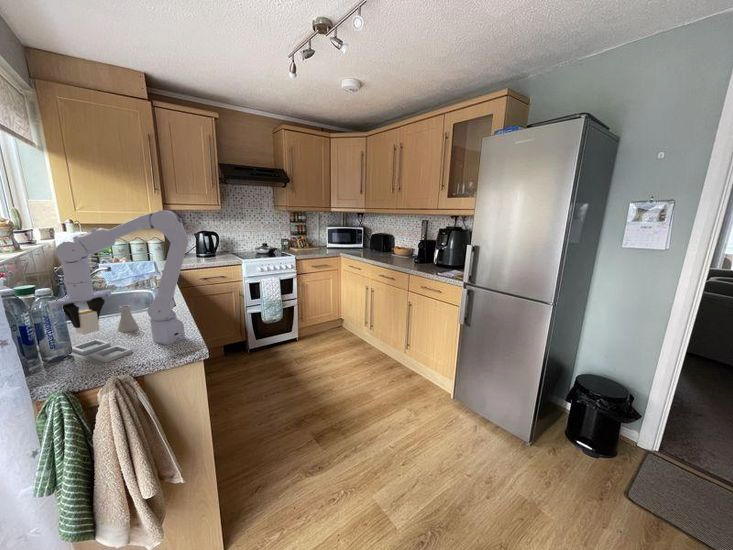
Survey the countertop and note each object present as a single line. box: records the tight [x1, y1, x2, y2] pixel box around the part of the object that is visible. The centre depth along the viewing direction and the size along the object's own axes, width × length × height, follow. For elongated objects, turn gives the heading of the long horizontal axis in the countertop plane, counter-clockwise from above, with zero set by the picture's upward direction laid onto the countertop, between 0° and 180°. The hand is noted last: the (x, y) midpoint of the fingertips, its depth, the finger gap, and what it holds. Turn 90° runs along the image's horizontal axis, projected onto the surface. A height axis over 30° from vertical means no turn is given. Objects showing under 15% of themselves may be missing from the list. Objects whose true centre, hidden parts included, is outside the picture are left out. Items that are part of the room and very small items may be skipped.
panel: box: [68, 338, 139, 366], centre depth 93 cm, size 18×10×2 cm, turn 68°
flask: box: [116, 304, 139, 333], centre depth 109 cm, size 7×7×10 cm
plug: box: [75, 308, 101, 336], centre depth 93 cm, size 4×4×7 cm
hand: (86, 324), depth 93 cm, fingers closed on plug, 4 cm apart
